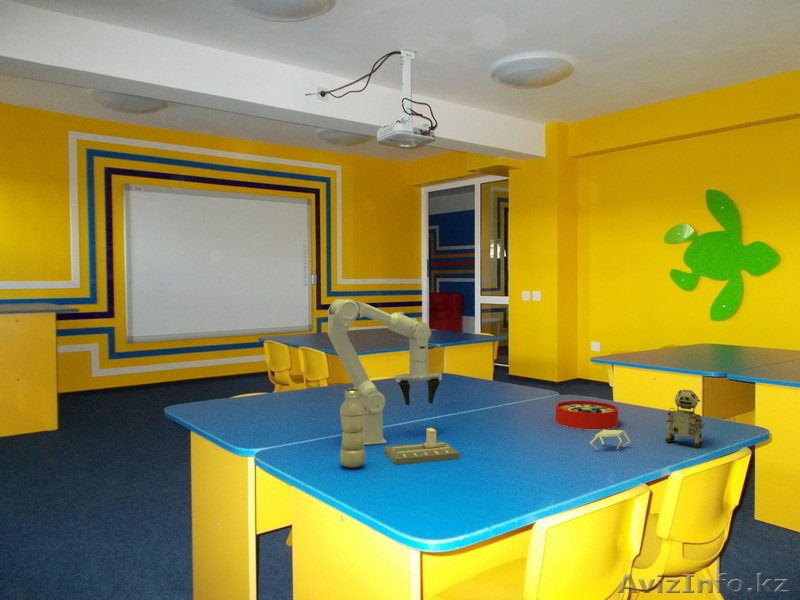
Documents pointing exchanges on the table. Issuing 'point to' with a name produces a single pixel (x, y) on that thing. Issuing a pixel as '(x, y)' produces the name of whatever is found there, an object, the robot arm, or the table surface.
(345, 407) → the plastic bottle
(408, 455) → the console
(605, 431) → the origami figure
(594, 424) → the red round tray
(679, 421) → the figurine
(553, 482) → the table surface
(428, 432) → the fader
